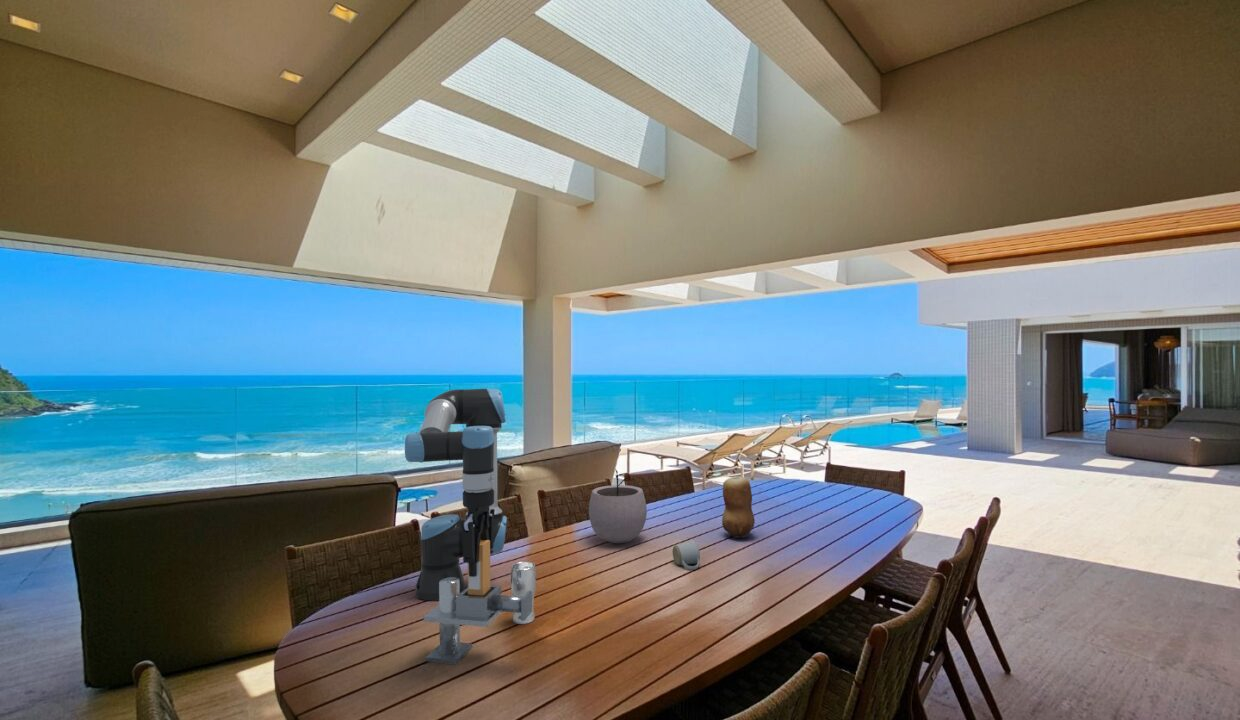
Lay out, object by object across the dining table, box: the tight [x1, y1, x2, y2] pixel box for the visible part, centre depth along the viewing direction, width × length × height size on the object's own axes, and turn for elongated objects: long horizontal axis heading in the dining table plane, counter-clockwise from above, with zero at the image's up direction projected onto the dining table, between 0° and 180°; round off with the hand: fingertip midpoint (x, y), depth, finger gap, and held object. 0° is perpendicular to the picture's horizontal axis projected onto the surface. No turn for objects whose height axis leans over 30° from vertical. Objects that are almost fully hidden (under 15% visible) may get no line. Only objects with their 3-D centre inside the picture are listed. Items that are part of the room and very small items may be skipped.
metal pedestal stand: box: [423, 577, 502, 665], centre depth 131 cm, size 16×10×18 cm, turn 78°
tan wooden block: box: [467, 540, 491, 595], centre depth 130 cm, size 4×4×12 cm
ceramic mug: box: [672, 540, 701, 571], centre depth 190 cm, size 11×8×8 cm
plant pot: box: [588, 468, 648, 544], centre depth 219 cm, size 24×24×30 cm
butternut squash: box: [721, 476, 755, 539], centre depth 222 cm, size 14×13×25 cm
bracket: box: [456, 584, 532, 621], centre depth 129 cm, size 17×8×5 cm, turn 78°
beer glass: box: [510, 561, 537, 625], centre depth 150 cm, size 7×7×15 cm
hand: (479, 584), depth 130 cm, fingers closed on tan wooden block, 4 cm apart
